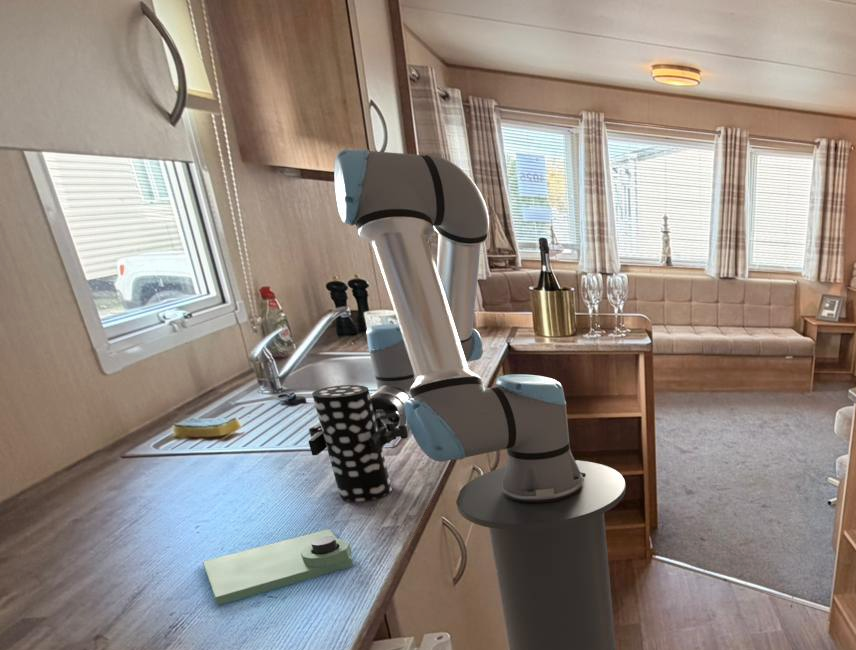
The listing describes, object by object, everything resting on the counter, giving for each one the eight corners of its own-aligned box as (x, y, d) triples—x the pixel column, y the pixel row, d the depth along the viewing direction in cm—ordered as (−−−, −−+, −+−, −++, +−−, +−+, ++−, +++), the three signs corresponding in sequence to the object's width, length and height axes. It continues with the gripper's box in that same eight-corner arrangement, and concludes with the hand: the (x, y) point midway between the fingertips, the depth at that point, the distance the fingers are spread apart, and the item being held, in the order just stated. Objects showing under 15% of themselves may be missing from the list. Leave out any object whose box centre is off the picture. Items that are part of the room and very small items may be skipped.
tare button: (335, 543, 99) (332, 533, 98) (340, 550, 97) (337, 540, 96) (311, 550, 97) (308, 540, 96) (316, 557, 95) (313, 547, 94)
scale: (335, 535, 106) (330, 519, 105) (358, 566, 98) (353, 549, 97) (205, 569, 95) (198, 551, 94) (218, 607, 87) (211, 589, 86)
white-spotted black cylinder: (396, 482, 127) (373, 384, 118) (386, 499, 119) (361, 396, 111) (347, 485, 124) (321, 385, 116) (334, 503, 117) (304, 398, 109)
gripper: (444, 425, 137) (414, 463, 117) (331, 428, 132) (279, 469, 112) (438, 391, 134) (405, 425, 114) (322, 393, 129) (266, 429, 109)
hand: (343, 447), depth 113 cm, fingers open, 9 cm apart
